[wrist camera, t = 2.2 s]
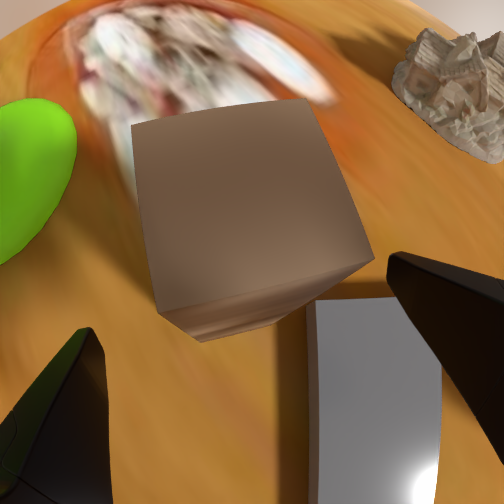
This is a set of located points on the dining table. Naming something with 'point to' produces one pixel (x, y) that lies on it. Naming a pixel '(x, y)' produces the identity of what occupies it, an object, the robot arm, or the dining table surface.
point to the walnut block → (243, 215)
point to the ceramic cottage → (457, 90)
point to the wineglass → (32, 168)
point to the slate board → (371, 405)
